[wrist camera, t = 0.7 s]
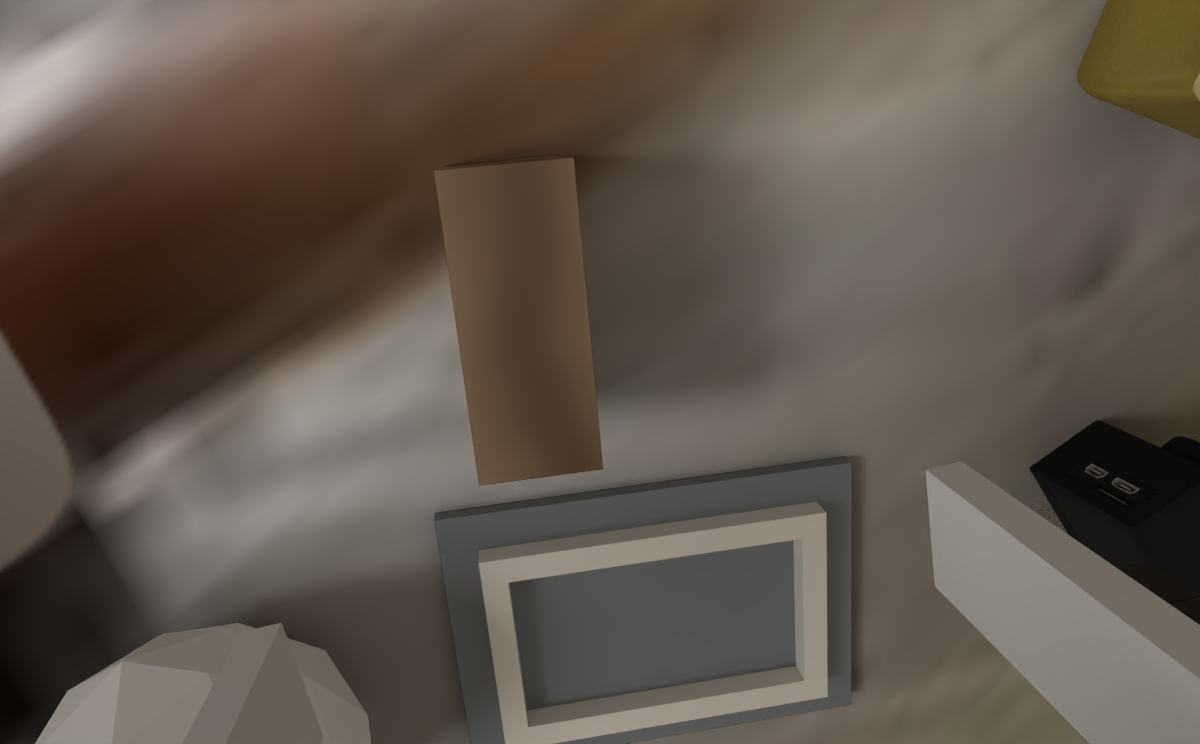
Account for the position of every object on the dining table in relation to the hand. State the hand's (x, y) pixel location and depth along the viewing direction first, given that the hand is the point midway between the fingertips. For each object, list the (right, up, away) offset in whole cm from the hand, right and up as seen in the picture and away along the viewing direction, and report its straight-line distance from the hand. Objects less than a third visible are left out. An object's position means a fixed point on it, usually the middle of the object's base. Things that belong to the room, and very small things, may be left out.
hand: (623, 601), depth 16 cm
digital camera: (+27, -3, +26) cm, 38 cm away
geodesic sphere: (-17, -11, +22) cm, 30 cm away
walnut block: (-4, +8, +19) cm, 21 cm away
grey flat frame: (+2, -8, +24) cm, 25 cm away
